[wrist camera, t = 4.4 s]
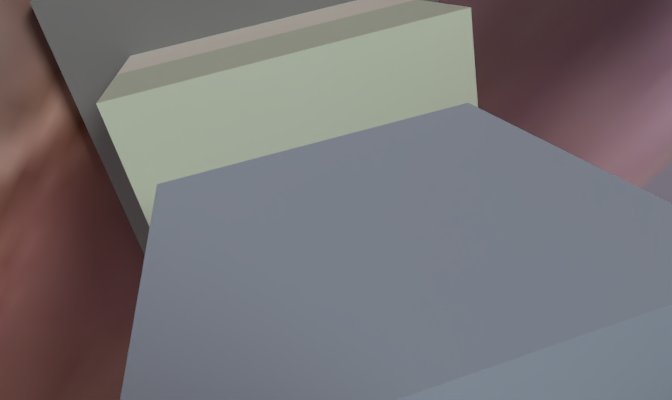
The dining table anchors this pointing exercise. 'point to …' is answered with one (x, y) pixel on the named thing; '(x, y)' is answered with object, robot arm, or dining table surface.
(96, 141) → the pale block on slab
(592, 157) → the dining table surface
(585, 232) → the top block
